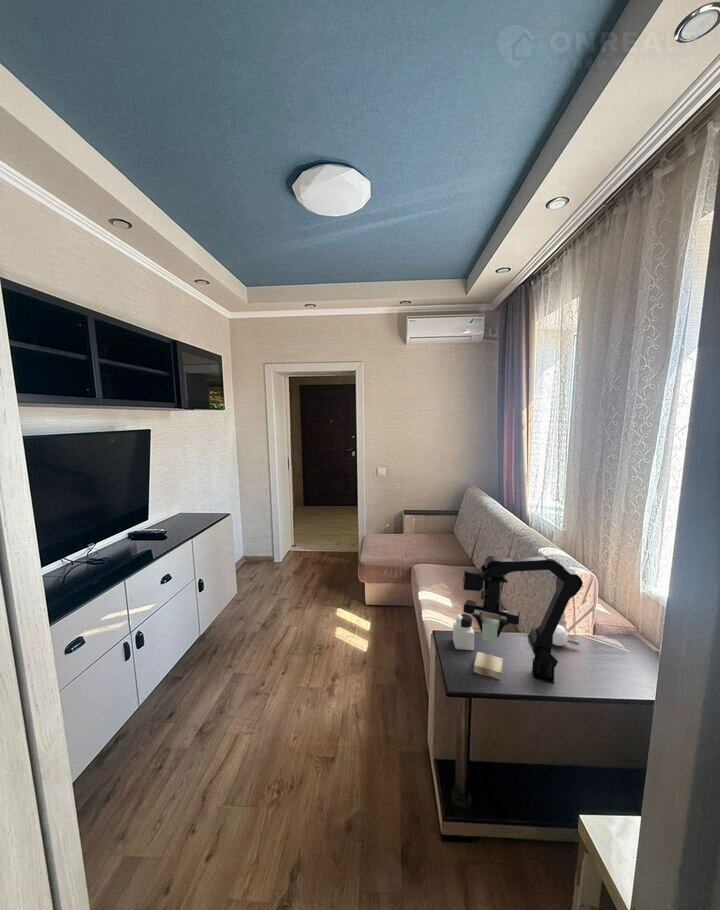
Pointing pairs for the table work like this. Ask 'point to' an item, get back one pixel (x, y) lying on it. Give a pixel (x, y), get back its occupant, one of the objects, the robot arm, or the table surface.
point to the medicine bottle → (463, 632)
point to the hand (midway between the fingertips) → (490, 634)
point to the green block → (490, 629)
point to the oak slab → (488, 665)
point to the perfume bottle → (562, 637)
